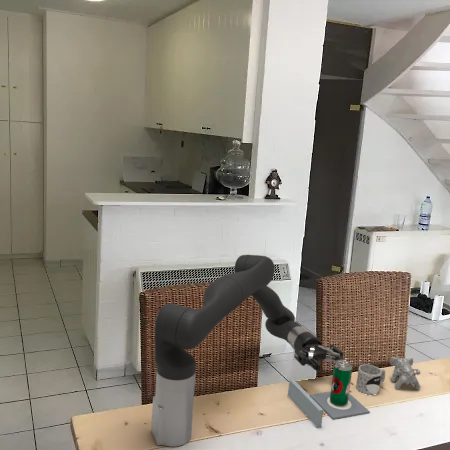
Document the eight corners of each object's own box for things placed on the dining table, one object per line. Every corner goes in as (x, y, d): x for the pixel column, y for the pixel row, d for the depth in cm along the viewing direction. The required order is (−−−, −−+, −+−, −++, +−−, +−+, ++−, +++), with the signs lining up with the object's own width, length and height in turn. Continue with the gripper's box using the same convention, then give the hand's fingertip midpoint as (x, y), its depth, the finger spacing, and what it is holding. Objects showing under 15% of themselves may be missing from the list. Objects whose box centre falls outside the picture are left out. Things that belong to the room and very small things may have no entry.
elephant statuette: (400, 394, 151) (405, 372, 149) (375, 373, 161) (379, 351, 159) (424, 391, 154) (429, 368, 152) (398, 370, 165) (402, 349, 163)
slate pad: (332, 419, 134) (333, 417, 134) (309, 396, 145) (309, 394, 145) (369, 413, 139) (369, 411, 139) (344, 390, 150) (344, 388, 150)
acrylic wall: (317, 427, 130) (319, 410, 129) (287, 395, 145) (289, 379, 144) (321, 427, 131) (323, 409, 130) (291, 394, 145) (293, 379, 144)
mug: (367, 397, 147) (370, 377, 145) (351, 386, 152) (354, 366, 151) (391, 390, 152) (394, 370, 150) (374, 380, 157) (377, 360, 156)
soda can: (348, 408, 139) (353, 368, 137) (329, 405, 140) (334, 366, 138) (347, 399, 144) (352, 360, 142) (329, 396, 145) (334, 357, 142)
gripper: (285, 333, 157) (312, 357, 142) (324, 329, 162) (354, 352, 147) (282, 355, 158) (309, 381, 144) (321, 350, 163) (351, 375, 149)
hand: (332, 366), depth 145 cm, fingers open, 8 cm apart
